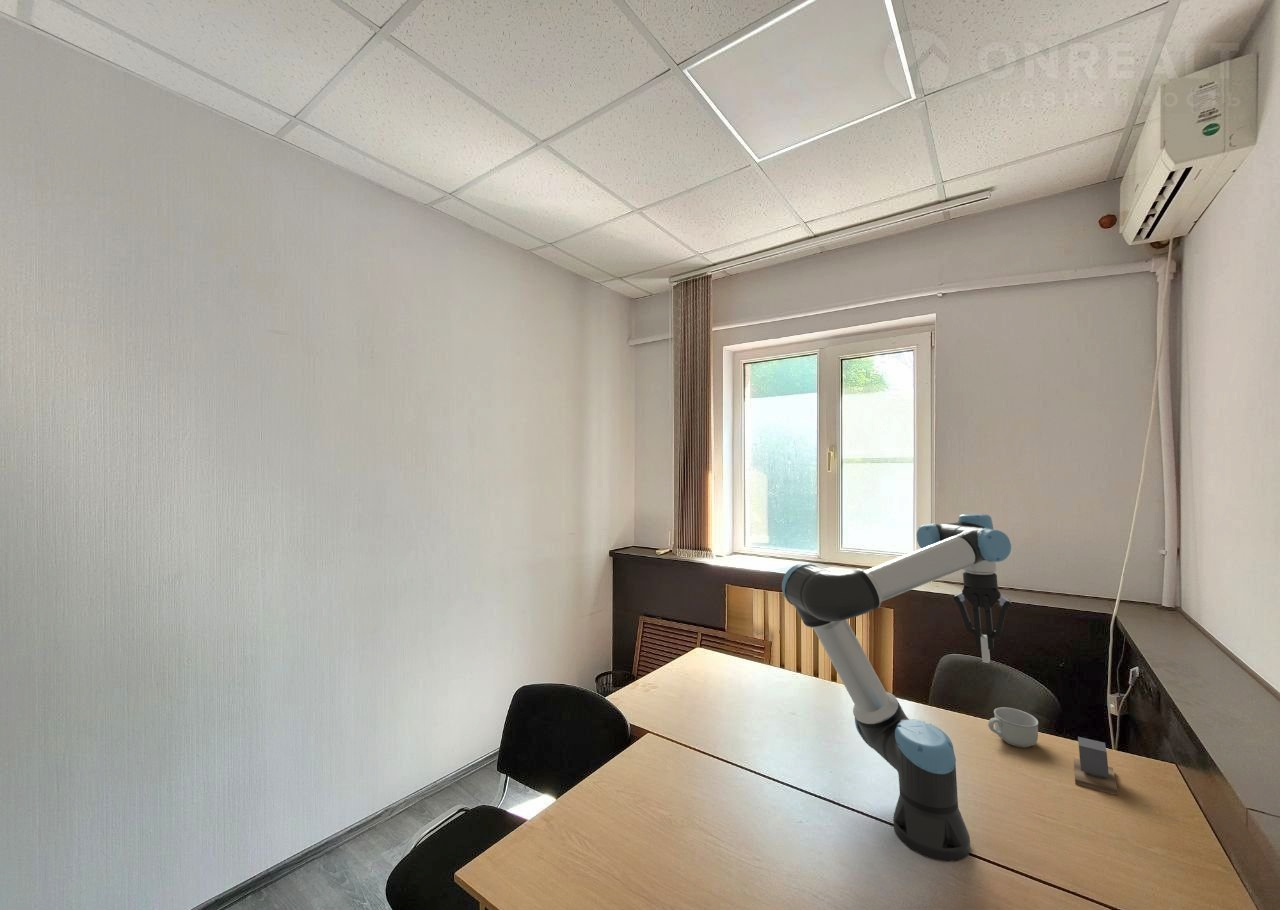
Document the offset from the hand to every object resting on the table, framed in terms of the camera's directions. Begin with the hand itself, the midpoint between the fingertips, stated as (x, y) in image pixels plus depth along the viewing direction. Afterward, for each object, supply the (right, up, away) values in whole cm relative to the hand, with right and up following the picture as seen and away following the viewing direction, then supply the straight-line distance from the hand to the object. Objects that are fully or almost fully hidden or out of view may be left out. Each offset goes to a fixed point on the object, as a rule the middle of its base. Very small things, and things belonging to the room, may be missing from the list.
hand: (986, 660), depth 130 cm
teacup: (+21, -33, +18) cm, 43 cm away
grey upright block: (+29, -29, 0) cm, 41 cm away
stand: (+29, -31, 0) cm, 42 cm away
